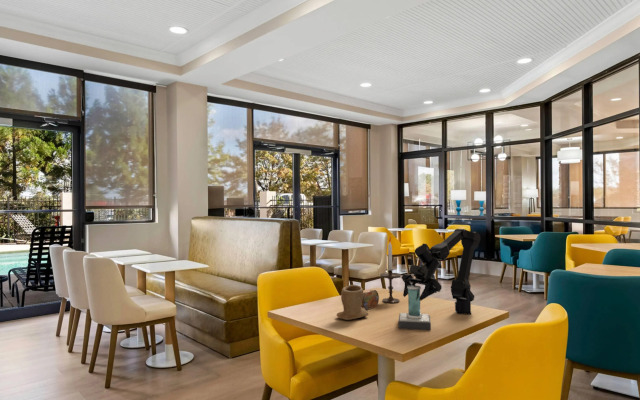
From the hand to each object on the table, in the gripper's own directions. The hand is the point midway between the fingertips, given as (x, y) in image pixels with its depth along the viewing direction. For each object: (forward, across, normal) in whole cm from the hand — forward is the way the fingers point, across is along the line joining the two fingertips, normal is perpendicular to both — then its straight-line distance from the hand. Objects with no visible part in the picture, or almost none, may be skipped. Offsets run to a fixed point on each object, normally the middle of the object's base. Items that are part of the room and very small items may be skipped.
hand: (411, 298), depth 179 cm
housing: (+5, 0, +7) cm, 8 cm away
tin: (+4, -35, +13) cm, 38 cm away
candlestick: (-9, -38, +26) cm, 47 cm away
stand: (+7, 0, +9) cm, 12 cm away
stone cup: (+17, -24, 0) cm, 30 cm away
